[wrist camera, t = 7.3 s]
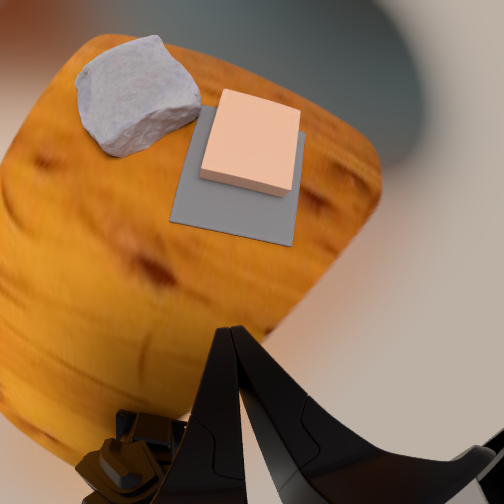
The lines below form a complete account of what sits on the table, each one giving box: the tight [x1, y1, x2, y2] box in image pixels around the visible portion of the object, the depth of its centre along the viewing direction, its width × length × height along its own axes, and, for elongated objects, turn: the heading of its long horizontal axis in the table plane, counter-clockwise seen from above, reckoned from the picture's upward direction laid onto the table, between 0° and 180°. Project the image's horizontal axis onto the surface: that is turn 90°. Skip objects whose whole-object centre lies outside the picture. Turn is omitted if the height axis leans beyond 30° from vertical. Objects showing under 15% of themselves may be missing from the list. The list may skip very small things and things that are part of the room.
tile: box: [199, 89, 300, 197], centre depth 21 cm, size 2×7×8 cm
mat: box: [170, 105, 305, 247], centre depth 22 cm, size 11×10×1 cm
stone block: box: [75, 35, 201, 158], centre depth 19 cm, size 12×5×10 cm
